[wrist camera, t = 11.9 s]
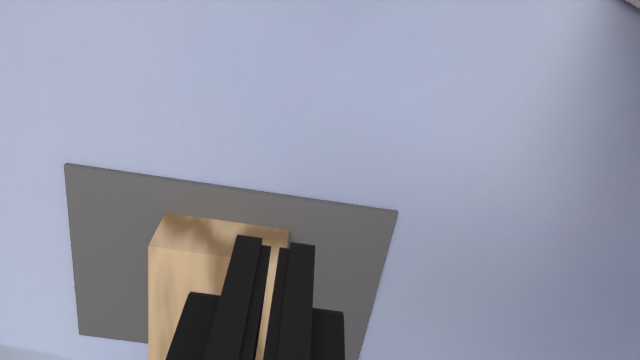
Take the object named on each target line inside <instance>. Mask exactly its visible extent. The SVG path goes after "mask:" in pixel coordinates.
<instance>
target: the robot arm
mask: <svg viewBox="0 0 640 360" xmlns="http://www.w3.org/2000/svg"><path fill="white" fill-rule="evenodd" d="M625 1H626V2H628V3H630V4H632V5H634V6H635V7H637V8H639V9H640V0H625ZM270 253H271V246H267V245H262V238H259V237H252V236H245V235H238V234H237V237H236V240H235V244H234V247H233V251H232V255H231V259H230V262H229V266H228V270H227V273H226V277H225V281H224V285H223V288H222V292H221V295H214V294H206V293H199V292H191V291H190V293H189V294H188V297H187V299H186V302H185V305H184V308H183V310H182V313H181V316H180V319H179V322H178V325H177V328H176V331H175V333H174V336H173V339H172V342H171V345H170V348H169V351H168V354H167V356H166V359H165V360H255V359H256V352H257V346H258V339H259V332H260V325H261V318H262V311H263V303H264V296H265V289H266V282H267V275H268V268H269V260H270ZM314 267H315V245H309V244H302V243H295V242H290V246H289V248H282V247H279V254H278V261H277V268H276V274H275V281H274V288H273V294H272V301H271V308H270V315H269V321H268V328H267V335H266V342H265V348H264V355H263V360H345V335H344V314H343V312H342V311H334V310H327V309H319V308H313V288H314Z"/></svg>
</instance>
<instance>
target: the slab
mask: <svg viewBox="0 0 640 360" xmlns="http://www.w3.org/2000/svg"><path fill="white" fill-rule="evenodd" d="M237 234H238V235H245V236H252V237H259V238H262V245H267V246H271V253H270V260H269V268H268V275H267V282H266V289H265V296H264V303H263V311H262V318H261V325H260V332H259V339H258V346H257V352H256V359H255V360H263V355H264V348H265V342H266V335H267V328H268V321H269V315H270V308H271V301H272V294H273V288H274V281H275V274H276V268H277V261H278V254H279V247H282V248H287V244H288V236H289V230H286V229H279V228H272V227H265V226H258V225H251V224H244V223H237V222H229V221H222V220H215V219H208V218H201V217H194V216H187V215H180V214H173V213H166V212H165V214H164V216H163V218H162V220H161V222H160V224H159V226H158V228H157V230H156V232H155V234H154V236H153V238H152V240H151V242H150V244H149V245H148V360H165V359H166V356H167V354H168V351H169V348H170V345H171V342H172V339H173V336H174V333H175V331H176V328H177V325H178V322H179V319H180V316H181V313H182V310H183V308H184V305H185V302H186V299H187V297H188V294H189V293H190V291H191V292H199V293H206V294H214V295H221V292H222V288H223V285H224V281H225V277H226V273H227V270H228V266H229V262H230V259H231V255H232V251H233V247H234V244H235V240H236V237H237Z"/></svg>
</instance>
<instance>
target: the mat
mask: <svg viewBox="0 0 640 360" xmlns="http://www.w3.org/2000/svg"><path fill="white" fill-rule="evenodd" d="M64 172H65V183H66V194H67V205H68V216H69V227H70V238H71V249H72V260H73V271H74V282H75V293H76V304H77V315H78V326H79V335H86V336H93V337H101V338H109V339H117V340H125V341H133V342H141V343H148V245H149V244H150V242H151V240H152V238H153V236H154V234H155V232H156V230H157V228H158V226H159V224H160V222H161V220H162V218H163V216H164V214H165V212H166V213H173V214H180V215H187V216H194V217H201V218H208V219H215V220H222V221H229V222H237V223H244V224H251V225H258V226H265V227H272V228H279V229H286V230H289V236H288V244H287V248H289V246H290V242H295V243H302V244H309V245H315V267H314V288H313V308H319V309H327V310H334V311H342V312H343V314H344V335H345V360H358V357H359V353H360V350H361V346H362V342H363V339H364V335H365V332H366V328H367V324H368V321H369V317H370V313H371V310H372V306H373V302H374V299H375V295H376V291H377V288H378V284H379V280H380V277H381V273H382V269H383V266H384V262H385V259H386V255H387V251H388V248H389V244H390V240H391V237H392V233H393V229H394V226H395V222H396V218H397V215H398V212H397V211H394V210H387V209H380V208H373V207H366V206H359V205H352V204H345V203H339V202H332V201H325V200H318V199H311V198H304V197H297V196H290V195H283V194H277V193H270V192H263V191H256V190H249V189H242V188H235V187H228V186H221V185H215V184H208V183H201V182H194V181H187V180H180V179H173V178H166V177H159V176H153V175H146V174H139V173H132V172H125V171H118V170H111V169H104V168H97V167H91V166H84V165H77V164H70V163H66V164H65V165H64Z"/></svg>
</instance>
